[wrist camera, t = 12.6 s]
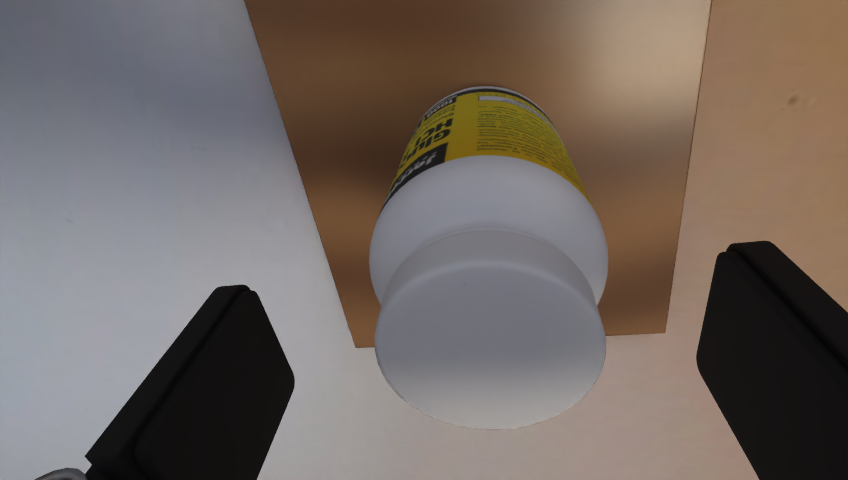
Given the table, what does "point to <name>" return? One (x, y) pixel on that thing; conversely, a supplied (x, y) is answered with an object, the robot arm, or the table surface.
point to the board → (507, 68)
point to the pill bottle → (488, 267)
